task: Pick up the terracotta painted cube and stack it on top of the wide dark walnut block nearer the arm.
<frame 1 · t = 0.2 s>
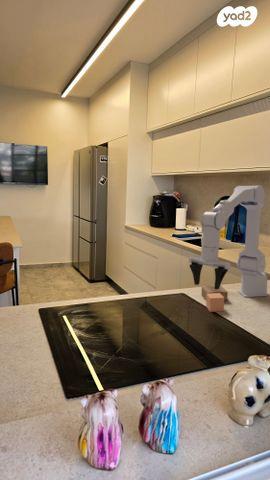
hand: (206, 286, 112), 10 cm above the countertop, fingers open, 7 cm apart
terracotta cube: (214, 308, 120), on the countertop
walnut block: (214, 298, 131), on the countertop
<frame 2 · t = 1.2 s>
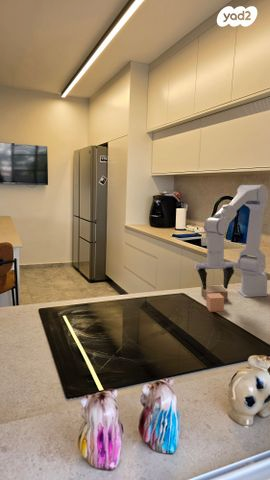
hand: (215, 288, 118), 8 cm above the countertop, fingers open, 7 cm apart
nothing on the countertop moved.
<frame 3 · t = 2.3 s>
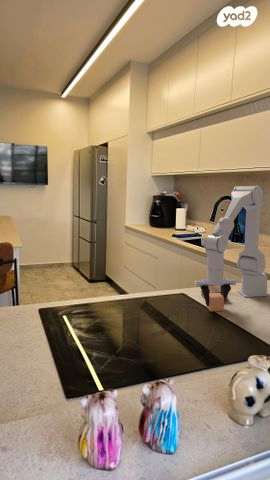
hand: (214, 304, 119), 1 cm above the countertop, fingers closed on terracotta cube, 5 cm apart
terracotta cube: (214, 308, 120), on the countertop, touching gripper
everything else where it was.
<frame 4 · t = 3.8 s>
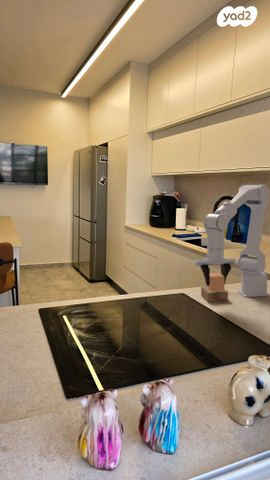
hand: (215, 284, 119), 9 cm above the countertop, fingers closed on terracotta cube, 5 cm apart
terracotta cube: (215, 288, 119), point 7 cm above the countertop, touching gripper
everything else where it was.
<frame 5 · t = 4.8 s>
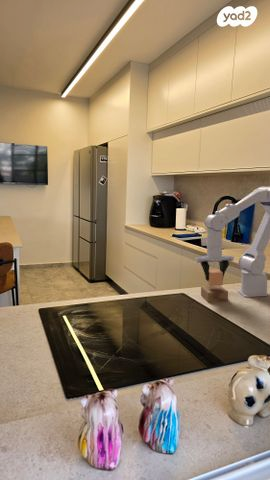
hand: (214, 279, 129), 7 cm above the countertop, fingers closed on terracotta cube, 5 cm apart
terracotta cube: (214, 283, 129), point 6 cm above the countertop, touching gripper
everything else where it was.
when the fingers open (7 cm above the countertop, at t = 5.4 s): terracotta cube drops 2 cm, resting on walnut block.
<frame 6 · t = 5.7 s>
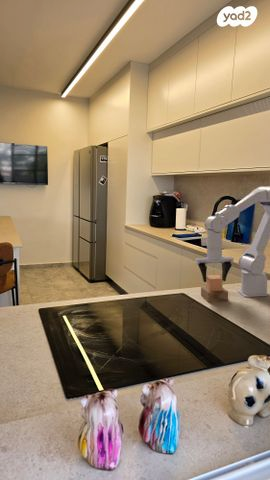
hand: (214, 281, 130), 7 cm above the countertop, fingers open, 7 cm apart
terracotta cube: (214, 289, 130), point 4 cm above the countertop, touching walnut block
walnut block: (214, 298, 131), on the countertop, touching terracotta cube
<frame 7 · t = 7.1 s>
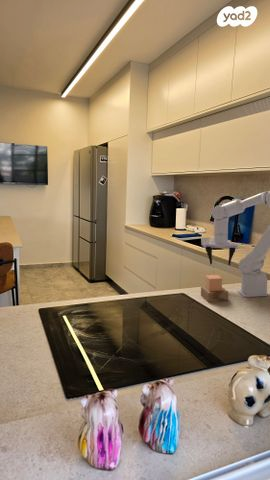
hand: (220, 264, 143), 10 cm above the countertop, fingers open, 7 cm apart
terracotta cube: (213, 289, 130), point 4 cm above the countertop
walnut block: (214, 298, 131), on the countertop
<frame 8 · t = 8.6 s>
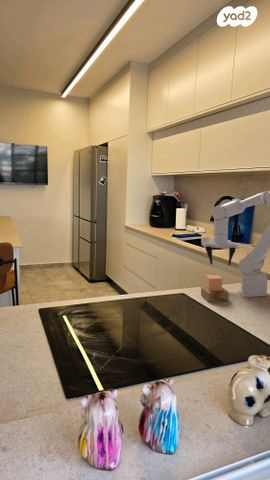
hand: (220, 264, 143), 10 cm above the countertop, fingers open, 7 cm apart
nothing on the countertop moved.
at the end: terracotta cube 0.2 cm off-centre on the walnut block, point 4.0 cm above the walnut block's base; terracotta cube tilted 1°; the gripper is holding nothing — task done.
